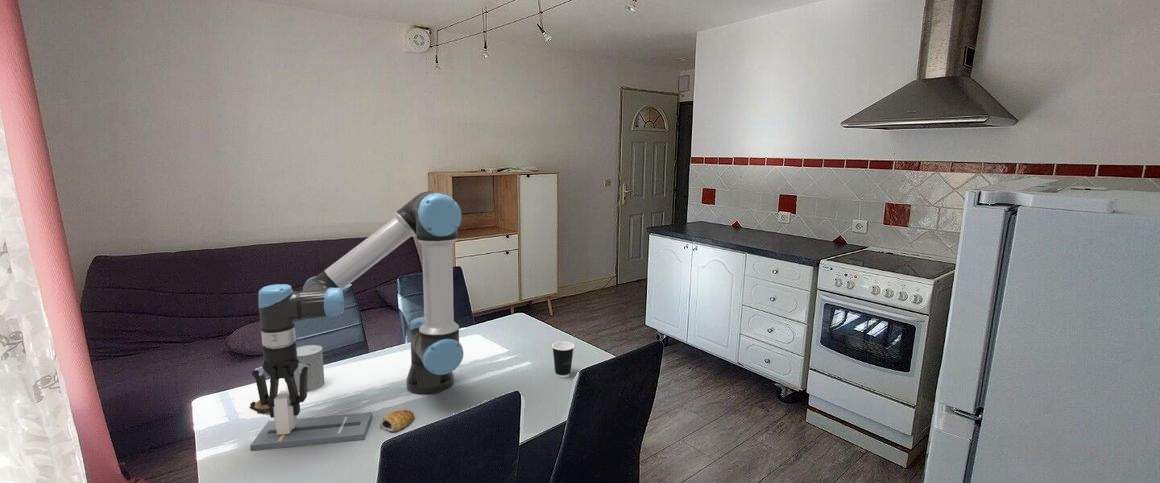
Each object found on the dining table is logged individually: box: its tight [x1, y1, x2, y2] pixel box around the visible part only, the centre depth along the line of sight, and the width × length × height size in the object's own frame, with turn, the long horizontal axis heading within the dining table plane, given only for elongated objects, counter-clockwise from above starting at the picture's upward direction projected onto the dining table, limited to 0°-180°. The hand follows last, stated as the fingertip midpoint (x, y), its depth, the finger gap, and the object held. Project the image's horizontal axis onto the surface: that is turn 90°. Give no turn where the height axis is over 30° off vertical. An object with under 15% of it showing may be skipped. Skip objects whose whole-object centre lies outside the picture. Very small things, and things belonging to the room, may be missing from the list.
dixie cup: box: [551, 340, 575, 379], centre depth 173 cm, size 8×8×11 cm
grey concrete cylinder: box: [294, 344, 326, 393], centre depth 160 cm, size 10×10×12 cm
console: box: [249, 411, 373, 452], centre depth 134 cm, size 27×12×2 cm, turn 103°
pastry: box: [379, 409, 415, 432], centre depth 139 cm, size 9×7×4 cm
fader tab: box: [274, 389, 292, 435], centre depth 131 cm, size 3×5×10 cm, turn 13°
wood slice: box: [249, 399, 270, 416], centre depth 148 cm, size 11×8×4 cm
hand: (286, 426), depth 132 cm, fingers closed on fader tab, 3 cm apart
